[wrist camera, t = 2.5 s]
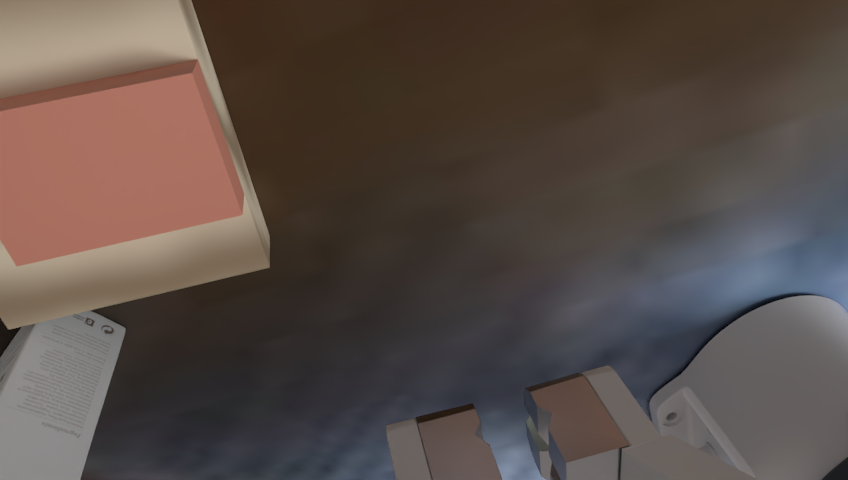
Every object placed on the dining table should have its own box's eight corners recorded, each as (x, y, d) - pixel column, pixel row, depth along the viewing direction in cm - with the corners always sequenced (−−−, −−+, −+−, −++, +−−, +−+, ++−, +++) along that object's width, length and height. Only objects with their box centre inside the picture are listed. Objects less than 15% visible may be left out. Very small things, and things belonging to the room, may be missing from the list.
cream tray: (269, 236, 31) (269, 267, 29) (30, 292, 30) (8, 329, 27) (171, -60, 24) (158, -54, 21) (-153, -3, 22) (-207, 11, 20)
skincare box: (47, 289, 30) (-69, 496, 20) (133, 327, 32) (68, 532, 22) (-10, 369, 32) (-146, 600, 21) (76, 400, 34) (-11, 624, 23)
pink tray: (197, 59, 23) (191, 72, 22) (244, 194, 26) (242, 215, 25) (-45, 107, 22) (-72, 125, 21) (33, 241, 25) (16, 266, 24)
